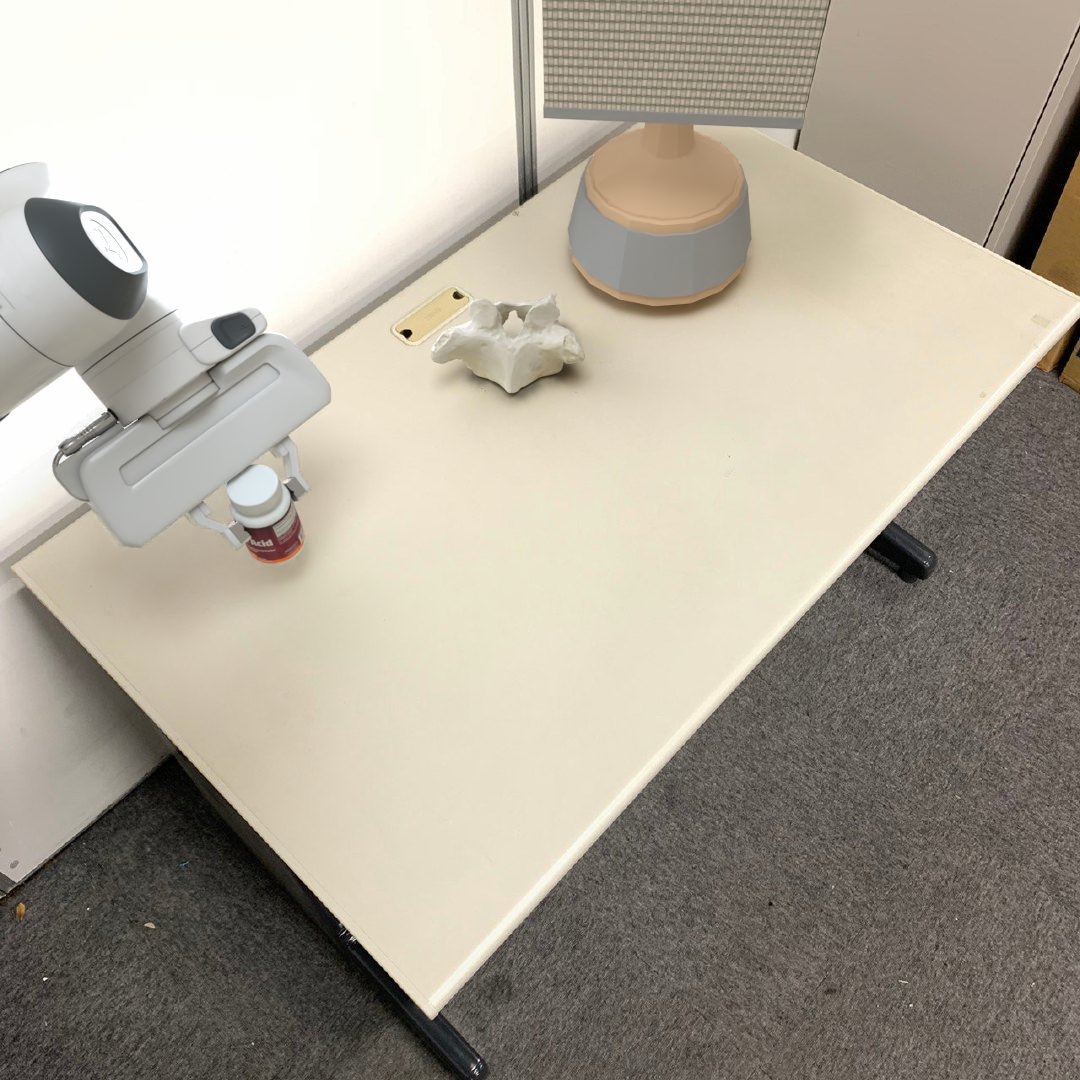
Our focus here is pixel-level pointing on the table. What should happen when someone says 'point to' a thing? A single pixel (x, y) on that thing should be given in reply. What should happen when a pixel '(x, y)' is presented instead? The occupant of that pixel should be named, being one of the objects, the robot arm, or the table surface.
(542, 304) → the bone
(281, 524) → the pill bottle
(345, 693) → the table surface
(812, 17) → the desk lamp
